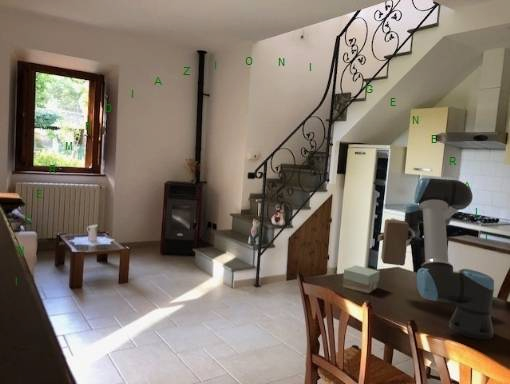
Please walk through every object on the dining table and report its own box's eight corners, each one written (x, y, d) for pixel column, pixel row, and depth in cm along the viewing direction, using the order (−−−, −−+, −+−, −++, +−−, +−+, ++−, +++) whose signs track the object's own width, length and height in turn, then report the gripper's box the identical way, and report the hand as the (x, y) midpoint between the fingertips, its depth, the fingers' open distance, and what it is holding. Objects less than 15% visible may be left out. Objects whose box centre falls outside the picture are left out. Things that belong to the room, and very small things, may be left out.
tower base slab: (368, 294, 198) (369, 285, 197) (342, 287, 205) (343, 278, 205) (377, 288, 208) (378, 279, 208) (352, 282, 216) (353, 273, 215)
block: (404, 266, 192) (409, 224, 190) (382, 263, 194) (387, 221, 192) (401, 261, 202) (406, 220, 200) (380, 258, 204) (385, 218, 202)
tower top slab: (368, 284, 197) (368, 275, 197) (343, 278, 205) (344, 269, 205) (378, 279, 207) (379, 271, 207) (354, 273, 215) (355, 265, 215)
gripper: (429, 247, 205) (418, 253, 187) (380, 238, 219) (366, 243, 201) (431, 232, 204) (420, 237, 187) (382, 224, 218) (368, 228, 200)
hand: (392, 240), depth 194 cm, fingers closed on block, 12 cm apart
